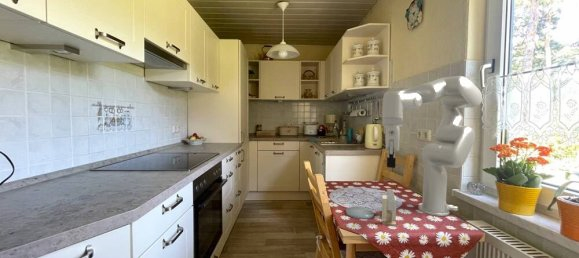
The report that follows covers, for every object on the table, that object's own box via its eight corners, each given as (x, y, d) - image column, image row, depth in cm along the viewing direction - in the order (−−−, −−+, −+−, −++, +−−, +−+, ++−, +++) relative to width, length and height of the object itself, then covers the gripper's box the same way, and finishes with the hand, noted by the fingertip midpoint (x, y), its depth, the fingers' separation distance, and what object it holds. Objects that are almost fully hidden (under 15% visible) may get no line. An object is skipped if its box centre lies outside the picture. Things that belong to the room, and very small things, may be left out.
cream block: (395, 216, 115) (395, 196, 115) (395, 221, 110) (396, 200, 110) (381, 214, 117) (382, 194, 117) (381, 219, 112) (382, 198, 112)
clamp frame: (393, 211, 121) (394, 189, 120) (395, 226, 105) (396, 200, 104) (382, 210, 123) (383, 188, 122) (382, 224, 107) (383, 198, 106)
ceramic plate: (374, 211, 121) (374, 208, 121) (373, 220, 110) (373, 218, 110) (347, 207, 125) (347, 205, 125) (344, 216, 114) (344, 214, 114)
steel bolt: (393, 197, 106) (393, 190, 106) (394, 210, 91) (395, 202, 91) (386, 196, 107) (387, 189, 107) (387, 210, 92) (387, 201, 92)
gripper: (402, 123, 99) (400, 171, 100) (402, 122, 112) (400, 164, 113) (381, 122, 102) (380, 169, 103) (383, 121, 115) (382, 163, 116)
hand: (391, 167), depth 108 cm, fingers closed
